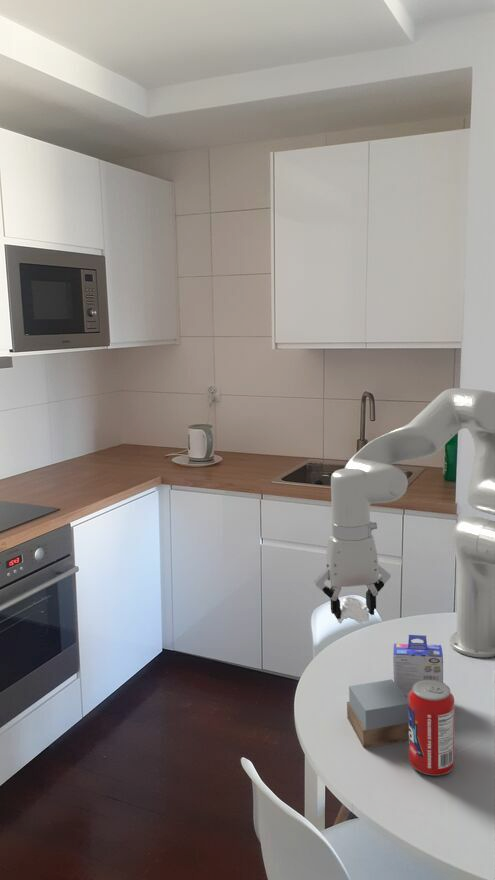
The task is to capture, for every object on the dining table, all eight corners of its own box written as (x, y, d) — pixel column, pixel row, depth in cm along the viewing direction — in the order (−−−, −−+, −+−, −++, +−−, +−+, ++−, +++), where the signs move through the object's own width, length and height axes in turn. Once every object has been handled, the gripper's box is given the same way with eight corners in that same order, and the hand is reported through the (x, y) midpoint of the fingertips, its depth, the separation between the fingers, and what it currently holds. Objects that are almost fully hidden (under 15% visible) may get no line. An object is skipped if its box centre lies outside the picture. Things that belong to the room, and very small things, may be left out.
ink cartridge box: (442, 698, 146) (442, 633, 143) (444, 713, 141) (444, 646, 138) (394, 695, 148) (393, 631, 145) (394, 709, 143) (393, 644, 140)
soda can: (448, 784, 120) (448, 704, 117) (403, 772, 124) (402, 694, 121) (458, 758, 126) (459, 682, 124) (415, 747, 130) (415, 673, 128)
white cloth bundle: (336, 615, 147) (333, 593, 147) (368, 611, 147) (364, 589, 146) (339, 629, 140) (335, 606, 139) (372, 625, 139) (369, 602, 139)
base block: (394, 713, 142) (394, 695, 142) (414, 742, 133) (413, 722, 132) (347, 720, 141) (346, 701, 140) (363, 749, 131) (363, 730, 130)
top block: (392, 697, 141) (391, 679, 140) (411, 722, 132) (410, 703, 131) (349, 704, 139) (349, 686, 138) (366, 730, 130) (365, 710, 130)
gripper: (386, 521, 145) (388, 602, 148) (304, 529, 142) (308, 611, 146) (399, 532, 137) (400, 617, 141) (313, 540, 135) (316, 627, 138)
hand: (353, 613), depth 143 cm, fingers closed on white cloth bundle, 6 cm apart
